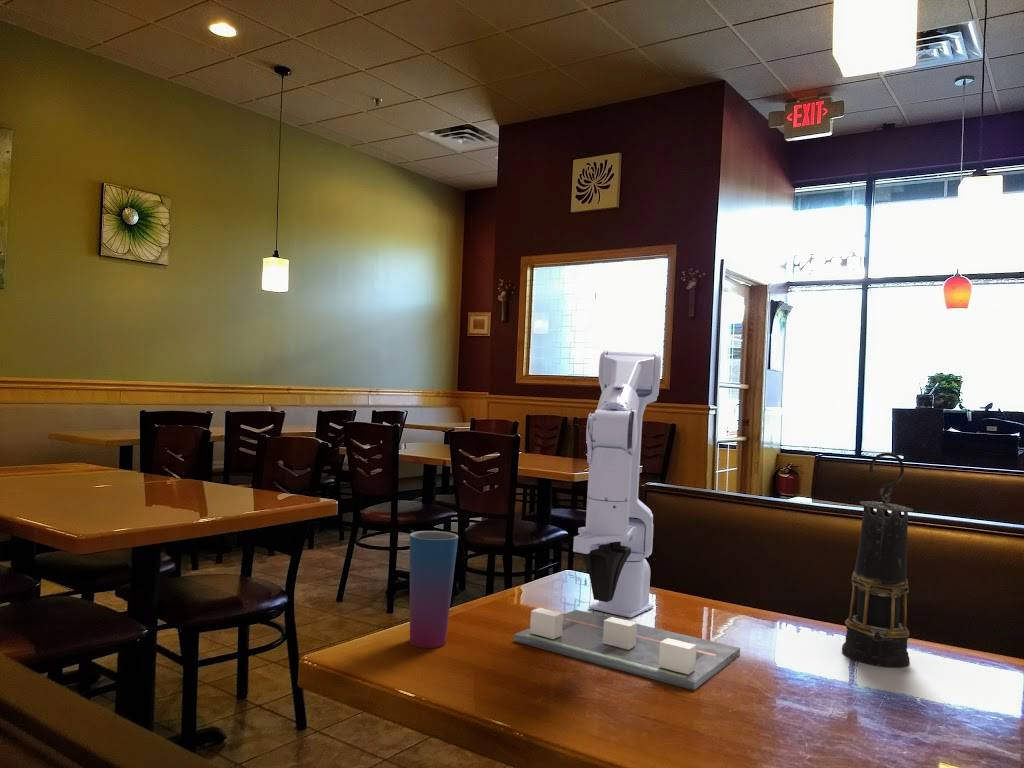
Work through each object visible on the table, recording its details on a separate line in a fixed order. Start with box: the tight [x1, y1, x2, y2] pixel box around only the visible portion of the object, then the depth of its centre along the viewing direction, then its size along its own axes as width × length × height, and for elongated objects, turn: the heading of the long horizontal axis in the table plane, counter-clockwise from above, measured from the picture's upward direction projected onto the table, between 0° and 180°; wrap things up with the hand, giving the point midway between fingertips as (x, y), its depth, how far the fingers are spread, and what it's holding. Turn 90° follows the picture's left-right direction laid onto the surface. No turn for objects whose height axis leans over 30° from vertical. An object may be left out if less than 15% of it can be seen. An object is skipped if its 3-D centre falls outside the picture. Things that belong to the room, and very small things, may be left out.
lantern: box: [841, 452, 914, 669], centre depth 112 cm, size 9×9×30 cm
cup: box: [409, 530, 459, 649], centre depth 107 cm, size 7×7×15 cm
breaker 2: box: [659, 638, 696, 675], centre depth 98 cm, size 2×4×3 cm, turn 56°
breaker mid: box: [603, 616, 638, 650], centre depth 107 cm, size 2×4×3 cm, turn 56°
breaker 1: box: [529, 607, 564, 639], centre depth 110 cm, size 2×4×3 cm, turn 56°
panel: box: [513, 609, 741, 691], centre depth 109 cm, size 18×27×1 cm, turn 56°
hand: (602, 599), depth 102 cm, fingers closed
